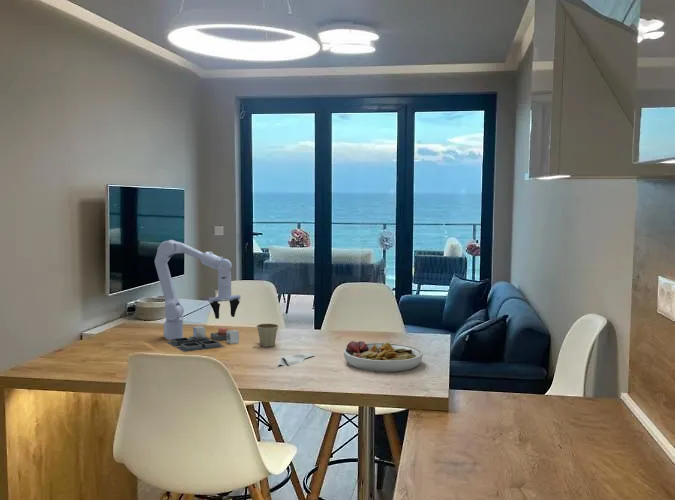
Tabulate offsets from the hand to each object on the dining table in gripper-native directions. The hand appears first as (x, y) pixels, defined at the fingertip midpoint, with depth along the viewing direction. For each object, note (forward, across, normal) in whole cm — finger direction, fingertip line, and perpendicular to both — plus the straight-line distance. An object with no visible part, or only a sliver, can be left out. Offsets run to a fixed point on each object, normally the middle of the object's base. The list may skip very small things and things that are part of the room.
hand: (225, 317), depth 276 cm
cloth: (+12, +6, -45) cm, 47 cm away
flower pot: (+11, +10, -18) cm, 24 cm away
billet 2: (+10, -1, -9) cm, 14 cm away
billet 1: (+9, -12, +2) cm, 15 cm away
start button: (+8, 0, +1) cm, 8 cm away
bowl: (+12, +30, -70) cm, 77 cm away
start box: (+10, 0, +1) cm, 10 cm away
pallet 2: (+10, -16, -9) cm, 21 cm away
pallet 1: (+10, -16, +2) cm, 19 cm away
